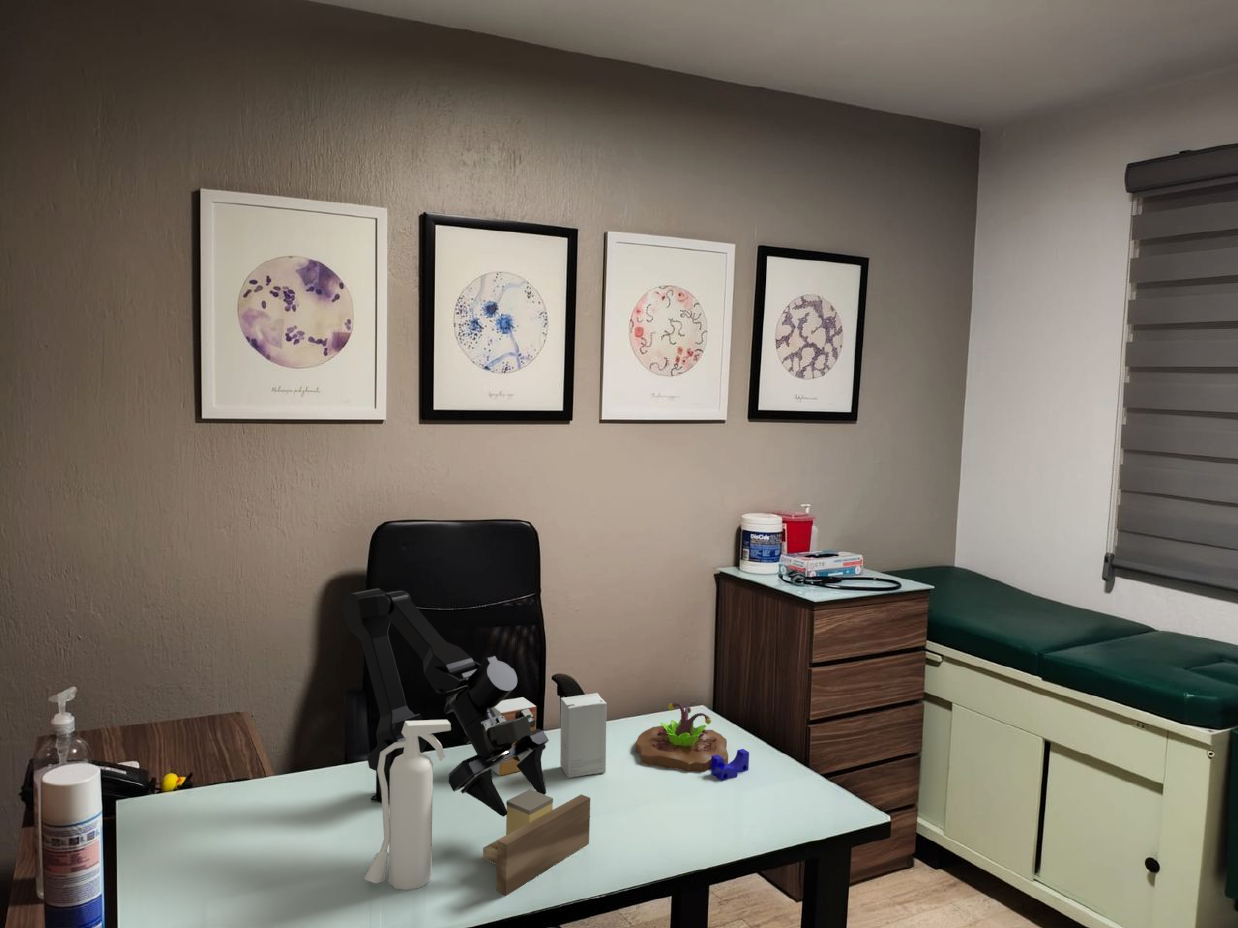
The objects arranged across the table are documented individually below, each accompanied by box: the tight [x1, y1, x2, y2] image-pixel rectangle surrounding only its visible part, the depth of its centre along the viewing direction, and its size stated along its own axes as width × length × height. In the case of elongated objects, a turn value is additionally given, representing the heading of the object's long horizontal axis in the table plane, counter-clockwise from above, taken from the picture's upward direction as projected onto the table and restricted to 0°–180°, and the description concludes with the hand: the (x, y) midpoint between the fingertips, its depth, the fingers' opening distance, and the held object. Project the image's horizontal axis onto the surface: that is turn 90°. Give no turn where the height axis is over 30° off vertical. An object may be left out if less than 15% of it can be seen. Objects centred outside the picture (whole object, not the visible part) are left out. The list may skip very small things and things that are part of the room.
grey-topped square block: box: [505, 788, 554, 835], centre depth 142 cm, size 5×6×10 cm
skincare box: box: [559, 692, 608, 779], centre depth 175 cm, size 8×6×15 cm
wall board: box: [482, 793, 591, 896], centre depth 142 cm, size 10×20×8 cm, turn 143°
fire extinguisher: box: [364, 719, 452, 891], centre depth 134 cm, size 7×12×25 cm, turn 116°
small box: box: [490, 696, 537, 777], centre depth 176 cm, size 8×6×13 cm
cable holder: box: [710, 748, 750, 782], centre depth 176 cm, size 8×4×4 cm, turn 120°
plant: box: [635, 701, 729, 773], centre depth 186 cm, size 20×20×11 cm
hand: (525, 804), depth 142 cm, fingers open, 9 cm apart
